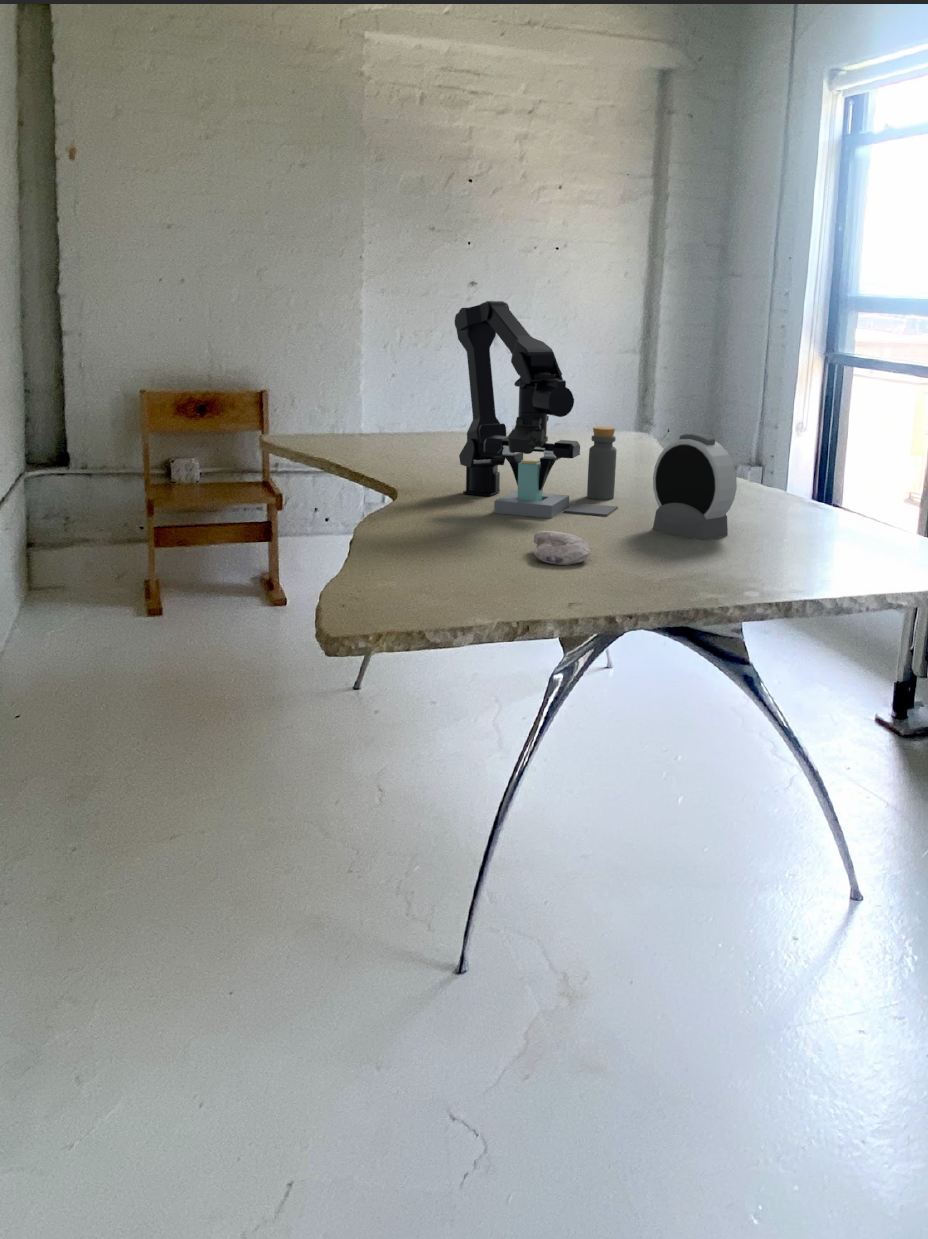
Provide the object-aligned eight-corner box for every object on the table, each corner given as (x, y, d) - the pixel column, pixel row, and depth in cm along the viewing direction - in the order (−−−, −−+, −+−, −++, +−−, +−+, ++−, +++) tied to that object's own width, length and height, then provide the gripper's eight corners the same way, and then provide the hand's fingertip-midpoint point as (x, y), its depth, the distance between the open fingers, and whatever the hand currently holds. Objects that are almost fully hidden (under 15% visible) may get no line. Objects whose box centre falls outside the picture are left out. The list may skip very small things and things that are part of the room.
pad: (563, 512, 215) (563, 510, 215) (575, 504, 223) (575, 502, 223) (606, 516, 212) (606, 514, 212) (617, 508, 220) (618, 506, 219)
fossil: (599, 542, 173) (540, 547, 171) (599, 567, 174) (540, 572, 172) (578, 522, 184) (522, 527, 182) (578, 546, 185) (522, 551, 184)
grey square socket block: (494, 512, 213) (494, 500, 213) (513, 502, 224) (514, 490, 223) (551, 518, 209) (551, 505, 208) (568, 507, 220) (569, 495, 219)
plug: (517, 507, 216) (518, 460, 213) (523, 504, 219) (525, 458, 216) (535, 509, 214) (537, 462, 211) (541, 505, 218) (543, 459, 215)
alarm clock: (639, 527, 203) (645, 430, 197) (675, 520, 209) (682, 427, 203) (705, 543, 190) (713, 440, 185) (741, 536, 196) (751, 436, 191)
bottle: (612, 500, 228) (616, 430, 223) (585, 499, 229) (589, 428, 225) (614, 495, 233) (618, 426, 229) (588, 494, 235) (591, 425, 230)
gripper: (474, 412, 207) (472, 492, 212) (566, 418, 201) (562, 500, 205) (494, 407, 217) (492, 483, 222) (582, 412, 210) (578, 490, 215)
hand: (530, 489), depth 216 cm, fingers closed on plug, 4 cm apart
